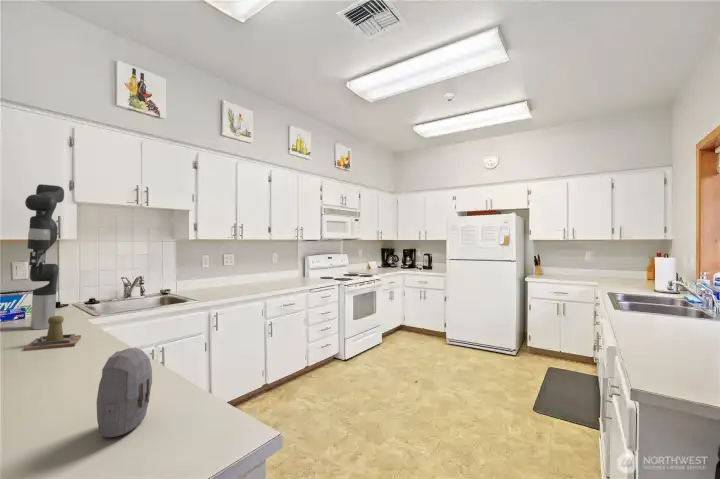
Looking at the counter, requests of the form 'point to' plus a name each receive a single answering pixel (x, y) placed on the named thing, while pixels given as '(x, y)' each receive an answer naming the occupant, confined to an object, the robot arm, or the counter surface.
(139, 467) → the counter surface
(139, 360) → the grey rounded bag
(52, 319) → the cork
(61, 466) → the counter surface
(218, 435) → the counter surface
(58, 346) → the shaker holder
